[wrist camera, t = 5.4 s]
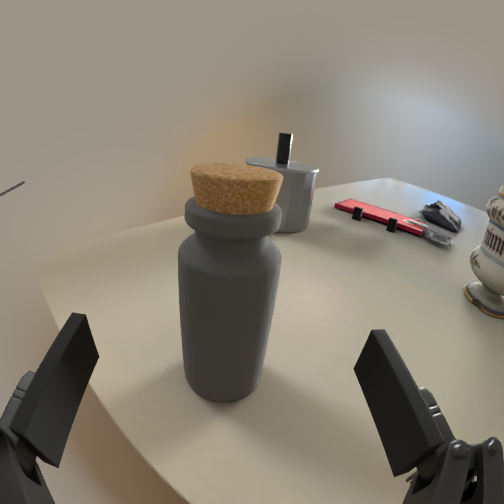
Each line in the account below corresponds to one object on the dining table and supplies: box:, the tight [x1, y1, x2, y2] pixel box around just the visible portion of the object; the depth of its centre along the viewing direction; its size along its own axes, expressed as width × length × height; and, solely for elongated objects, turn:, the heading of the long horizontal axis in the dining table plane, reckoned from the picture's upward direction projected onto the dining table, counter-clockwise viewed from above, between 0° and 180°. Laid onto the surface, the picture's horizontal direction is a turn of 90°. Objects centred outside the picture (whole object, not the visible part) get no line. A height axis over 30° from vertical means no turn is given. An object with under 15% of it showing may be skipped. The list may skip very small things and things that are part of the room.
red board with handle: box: [335, 199, 451, 247], centre depth 61 cm, size 30×3×15 cm
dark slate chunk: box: [422, 201, 461, 232], centre depth 74 cm, size 15×22×5 cm
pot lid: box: [245, 133, 319, 174], centre depth 48 cm, size 13×13×7 cm
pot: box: [247, 164, 317, 233], centre depth 51 cm, size 12×12×10 cm
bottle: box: [178, 163, 283, 402], centre depth 17 cm, size 6×6×15 cm
